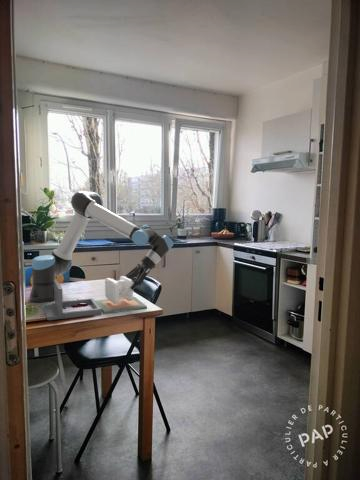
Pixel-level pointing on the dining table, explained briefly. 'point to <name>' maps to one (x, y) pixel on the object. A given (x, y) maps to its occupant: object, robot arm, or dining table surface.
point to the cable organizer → (117, 289)
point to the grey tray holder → (56, 309)
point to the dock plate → (120, 305)
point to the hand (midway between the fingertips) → (122, 290)
